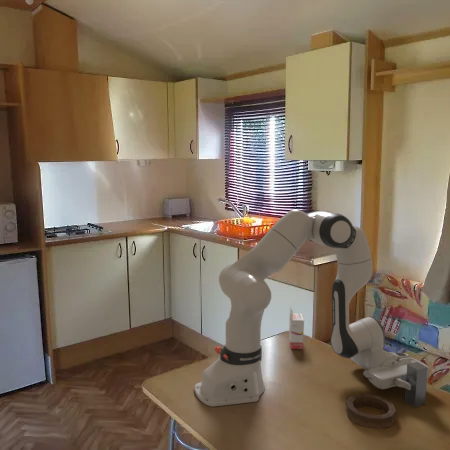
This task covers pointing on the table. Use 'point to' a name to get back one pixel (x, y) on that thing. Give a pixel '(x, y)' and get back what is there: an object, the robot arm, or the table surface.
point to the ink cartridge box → (296, 330)
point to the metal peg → (416, 384)
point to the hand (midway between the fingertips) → (418, 385)
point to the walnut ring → (370, 420)
